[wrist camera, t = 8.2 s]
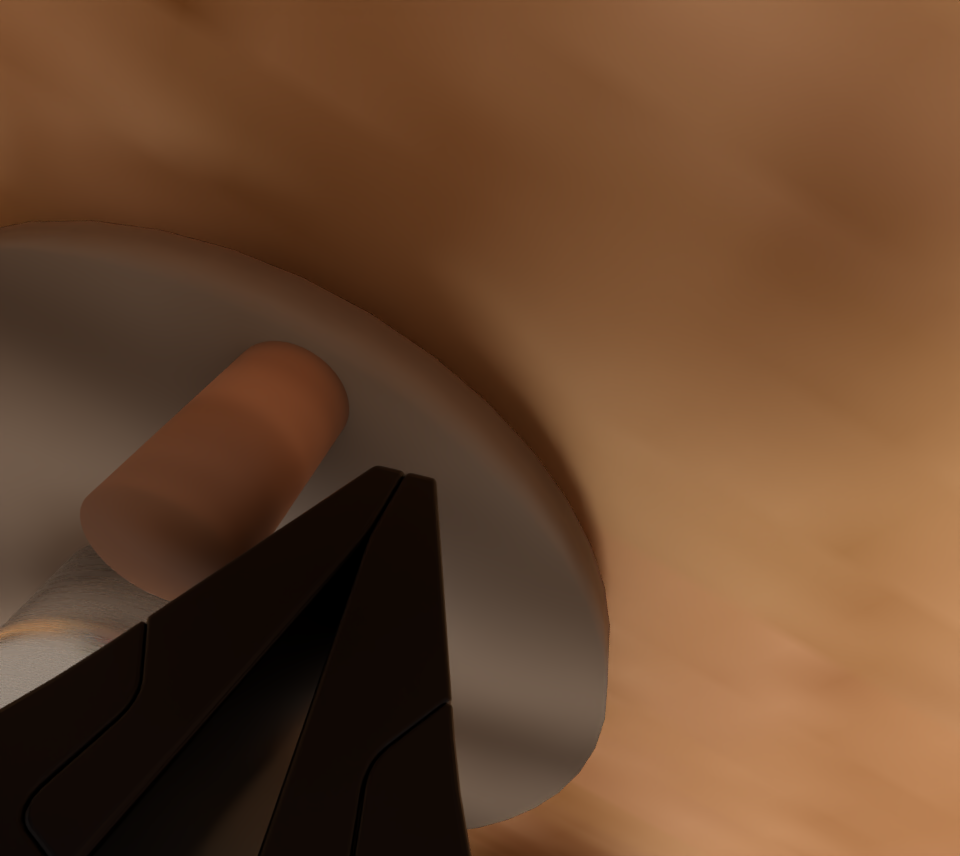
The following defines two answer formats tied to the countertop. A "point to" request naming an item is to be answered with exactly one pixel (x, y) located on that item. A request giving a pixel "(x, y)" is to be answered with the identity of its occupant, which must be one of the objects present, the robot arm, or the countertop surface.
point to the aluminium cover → (68, 622)
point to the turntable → (285, 468)
